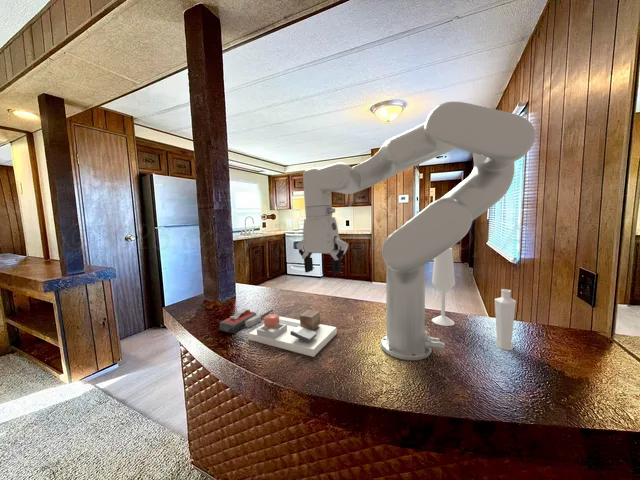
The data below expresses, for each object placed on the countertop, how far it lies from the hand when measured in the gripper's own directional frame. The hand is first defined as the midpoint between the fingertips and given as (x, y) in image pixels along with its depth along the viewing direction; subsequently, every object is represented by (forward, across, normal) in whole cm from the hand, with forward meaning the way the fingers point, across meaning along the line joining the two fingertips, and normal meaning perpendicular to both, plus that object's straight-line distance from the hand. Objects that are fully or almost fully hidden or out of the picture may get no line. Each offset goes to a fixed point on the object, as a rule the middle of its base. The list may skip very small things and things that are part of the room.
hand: (322, 272), depth 73 cm
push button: (+14, +13, +9) cm, 21 cm away
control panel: (+19, +9, +5) cm, 21 cm away
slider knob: (+17, +5, +1) cm, 17 cm away
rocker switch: (+16, +2, +8) cm, 17 cm away
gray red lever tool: (+19, +30, +4) cm, 36 cm away
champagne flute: (+20, -27, -28) cm, 44 cm away
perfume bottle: (+21, -43, -18) cm, 51 cm away
